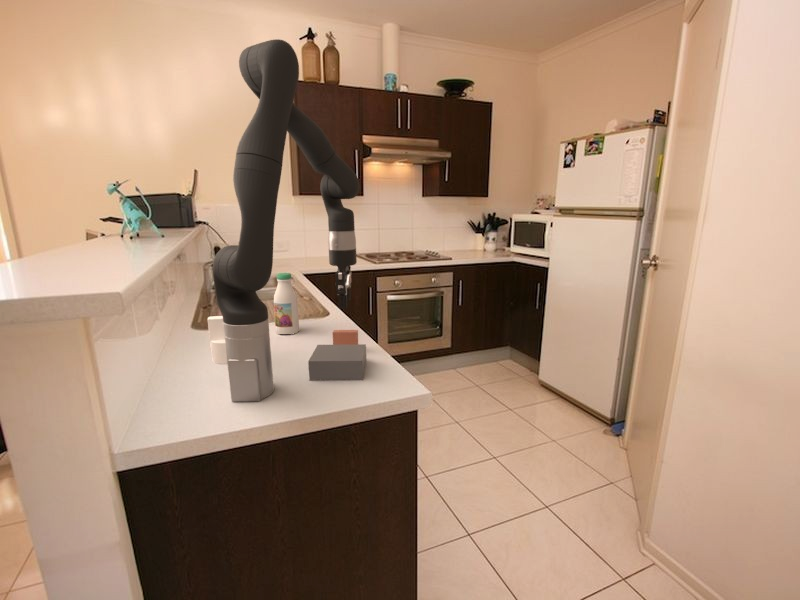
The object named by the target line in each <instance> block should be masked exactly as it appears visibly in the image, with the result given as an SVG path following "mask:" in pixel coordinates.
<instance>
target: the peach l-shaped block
mask: <svg viewBox="0 0 800 600" xmlns="http://www.w3.org/2000/svg"><path fill="white" fill-rule="evenodd" d="M352 344H359V330H358V329H334V330H333V331H332V345H352Z"/></svg>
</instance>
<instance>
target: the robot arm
mask: <svg viewBox="0 0 800 600" xmlns="http://www.w3.org/2000/svg"><path fill="white" fill-rule="evenodd" d="M299 64H300V63H299V60H298V56H297V53H296V51H295V49H294V48H293V46H292V45H291V44H290V43H289V42H287V41H286V40H283V39H279V38H278V39H269V40H266V41H262V42H260V43H256V44H253V45H251V46H248V47H246V48H244V49H243V50H242V51H241V52H240V54H239V59H238V68H239V70H240V74H241V77H242V79H243V80H244V82H245V83H246V85H247V86H248V87H249V89H250V90H251V91H252V92H253V94H254V95H255V96H256V97H257V99H259V101H258V104H257V107H256V109H255V113H254V114H253V115H252V118H251V120H250V121H249V123H248V125H246V126H247V127H246V128H245V129H244V132H243V133H242V136H241V138H240V140H239V142H238V146H237V149H236V152H235V153H236V154H235V159H234V160H235V161H234V167H233V168H234V169H233V176H232V177H233V179H232V181H233V188H234V192H235V195H236V200H237V203H238V207H239V209H240V210H239V211H240V216H241V223H240V225H241V228H240V231H239V241H238V244H237V245H235V244H234V245H233V244H232V245H227V246H226V245H225V246H223V247H222V248H220V249H219V250H218V252H216V253H215V255H214V259H213V262H212V277H213V278H212V279H213V284H214V290H215V298H216V303H217V307H218V310H219V312H220V313H221V316H223V323H224V333H225V343H226V353H227V362H228V364H227V371H228V379H229V390H230V399H231V402H261V401H262V400H263V399H264V398H267V397H268V396H270V395H271V394H272V393H274V390H275V388H274V387H275V386H274V385H275V384H274V374H273V362H272V360H273V359H272V350H271V349H272V348H271V337H270V322H269V321H270V320H269V310H268V306H267V305H266V304H265V302H263V301H262V300H261V298H259V296H258V294H257V292H258V291H260V290H262V289H263V288H265V286H266V285H267V284H268V283H269V281H270V278H271V275H272V272H273V263H274V261H273V260H274V234H275V233H274V231H275V223H276V222H275V221H276V214H277V213H276V212H277V204H278V198H279V197H278V196H279V189H280V185H281V184H280V183H281V176H282V169H283V163H284V162H283V160H284V153H285V146H286V140H287V134H289V136H291V138H292V139H293V140H294V142H295V143H296V145H297V146H298V147H299V149H300V151H301V152H302V154H303V155H304V156H305V158H306V160H307V161H308V163H309V164H310V166H311V167H312V169H313V170H314V172H316V173H317V174H321V175H322V178H321V181H320V186H319V187H320V188H319V189H320V194H321V197H322V201H323V204H324V208H325V211H326V213H327V218H328V220H327V221H328V222H327V223H328V239H327V240H328V241H327V243H328V245H327V246H328V261H329V265H331V266H333V267H337V271H336V272H335V273H334V276H335V295H337V298H338V299H337V301H338V304H337V305H338V308H339V309H344V310H345V309H347V308H348V302H350V301H351V287H352V267H351V266H355V265H357V239H356V231H355V215H354V211H353V210H352V209H350V208H347V207H345V206H344V205H343V202H342V200H351V199H353V198H356V197H357V196H358V194H359V192H360V181H359V178H358V176H357V175H356V172H354V170H353V169H352V168H351V167H350V166H349V165H348V164H347V163H346V162H345V161H344V159H343V158H342V157H340V156H339V155H338V154H337V152H336V150H335V148H334V146H333V145H332V144H331V141H330V140H329V138H328V136H327V135H326V133H325V132H324V131H323V130H322V128H321V127H320V126H319V125H318V124H317V123H316V122H315V121H314V120H312V119H311V118H310V117H309V116H308V115H306V113H304V112H303V111H302V110H301V109H300V108H299V107H298V106H297V105H296V104H295V103H294V100H295V96H296V92H297V88H298V83H299V77H300V65H299Z"/></svg>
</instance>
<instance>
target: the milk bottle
mask: <svg viewBox="0 0 800 600" xmlns="http://www.w3.org/2000/svg"><path fill="white" fill-rule="evenodd" d="M276 281H277V286H276V289H275V292H274V294H273V311H274V312H273V314H274V326H275V333H276V334H277V333H278V334H277V335H279V334H291V335H294V334H293V333H295V334H297V333H299V332H300V321H299V320H300V317H299V304H298V303H299V302H298V296H297V294H296V291H295V290H294V286H293V284H292V274H291V273H290V272H280V273H276ZM298 331H299V332H298Z"/></svg>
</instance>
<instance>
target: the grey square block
mask: <svg viewBox="0 0 800 600" xmlns="http://www.w3.org/2000/svg"><path fill="white" fill-rule="evenodd" d="M307 362H308V363H307V364H308V376H309V378H308V380H309V381H363V380H364V375H365V371H366V366H367V344H362V343H361V344H360V343H358V344H352V345H333V344H317V345H316V347H315V349H314V350H313V352H312V353H311V356H310V357H309V359H308V361H307Z"/></svg>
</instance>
